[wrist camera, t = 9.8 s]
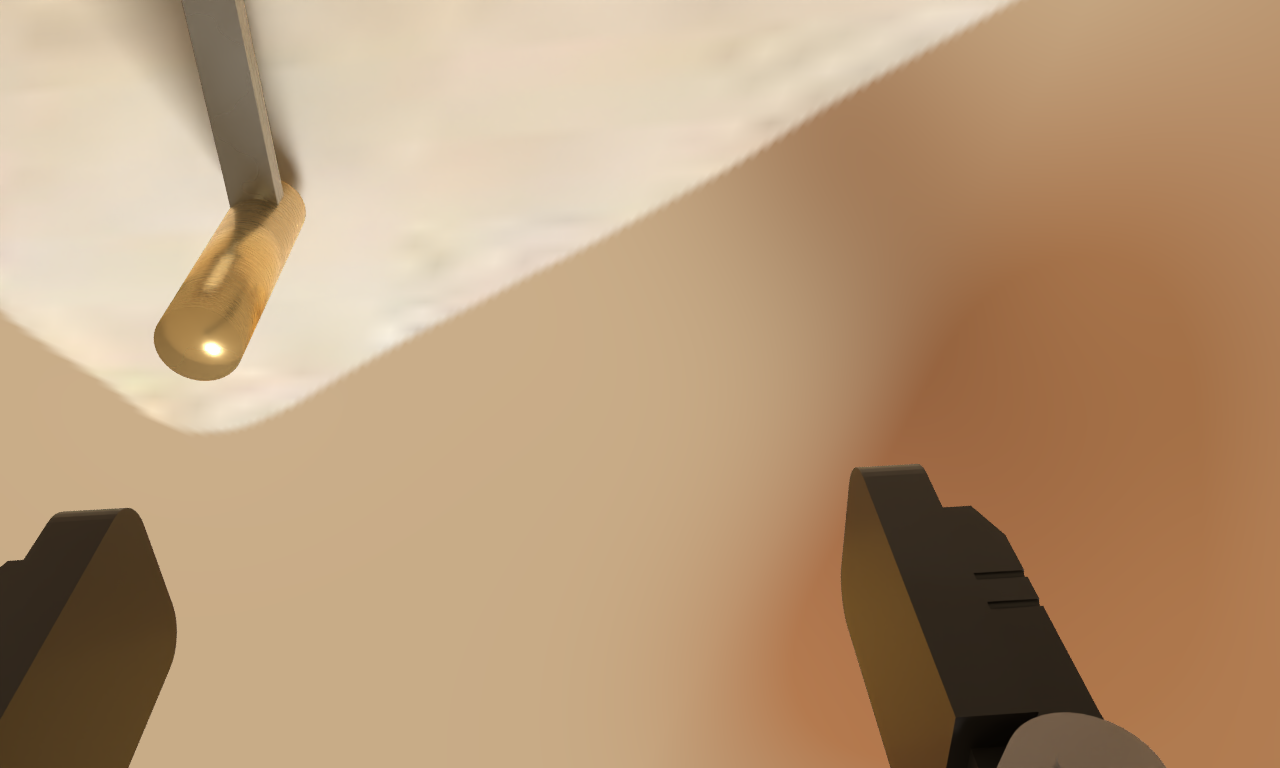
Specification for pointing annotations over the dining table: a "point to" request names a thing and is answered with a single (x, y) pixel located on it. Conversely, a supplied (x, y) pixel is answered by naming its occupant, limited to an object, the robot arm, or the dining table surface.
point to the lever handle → (231, 206)
